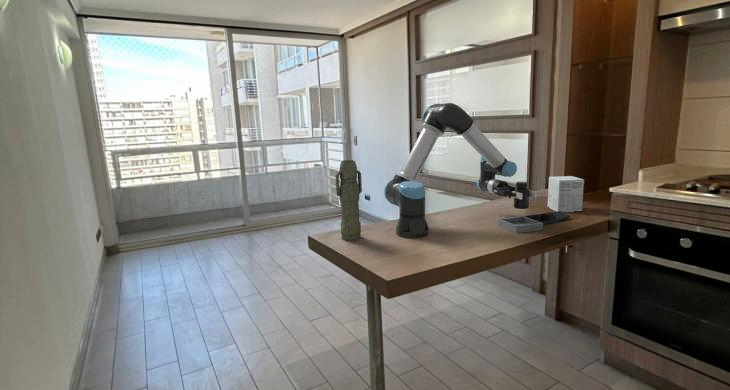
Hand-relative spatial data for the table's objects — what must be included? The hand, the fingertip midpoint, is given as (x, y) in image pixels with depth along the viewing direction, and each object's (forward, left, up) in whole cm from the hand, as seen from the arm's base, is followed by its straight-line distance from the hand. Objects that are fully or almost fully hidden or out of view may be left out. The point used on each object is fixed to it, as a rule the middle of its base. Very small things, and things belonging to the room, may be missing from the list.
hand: (528, 195), depth 177 cm
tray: (0, +5, -16) cm, 17 cm away
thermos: (-78, +19, -16) cm, 82 cm away
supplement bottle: (0, +5, -7) cm, 8 cm away
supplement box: (+44, +26, -16) cm, 54 cm away
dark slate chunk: (+21, +12, -17) cm, 29 cm away
